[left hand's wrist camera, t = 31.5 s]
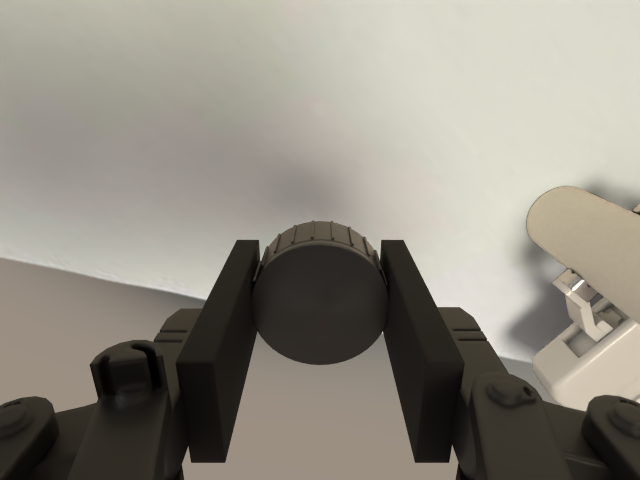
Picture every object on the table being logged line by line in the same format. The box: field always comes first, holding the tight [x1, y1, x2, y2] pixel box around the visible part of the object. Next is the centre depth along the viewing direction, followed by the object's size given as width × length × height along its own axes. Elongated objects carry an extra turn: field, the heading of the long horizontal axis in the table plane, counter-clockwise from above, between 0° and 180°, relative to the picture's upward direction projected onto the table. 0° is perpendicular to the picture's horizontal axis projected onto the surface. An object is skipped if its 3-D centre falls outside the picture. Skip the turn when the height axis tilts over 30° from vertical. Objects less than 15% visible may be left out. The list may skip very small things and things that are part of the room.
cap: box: [251, 221, 389, 365], centre depth 14 cm, size 4×4×2 cm
